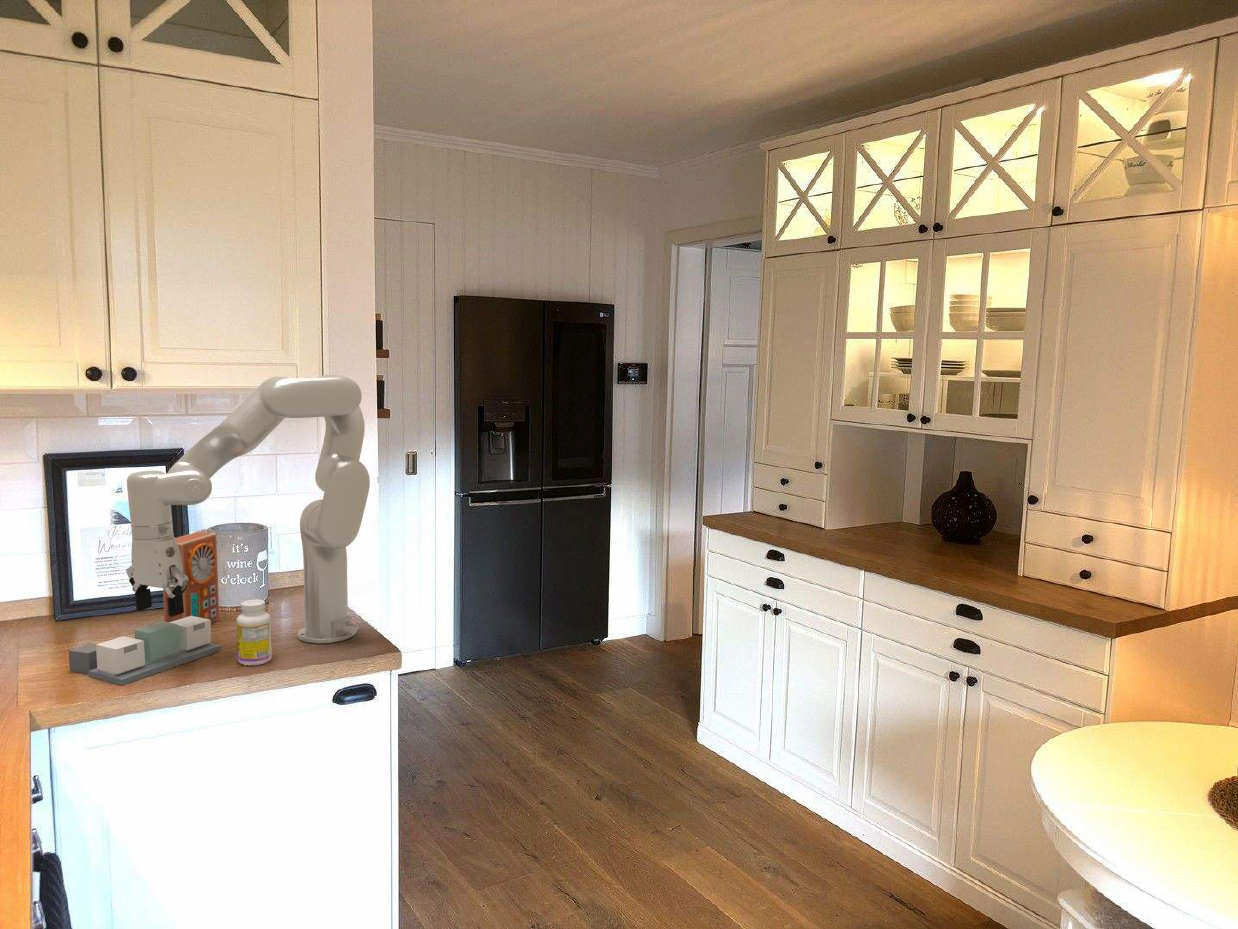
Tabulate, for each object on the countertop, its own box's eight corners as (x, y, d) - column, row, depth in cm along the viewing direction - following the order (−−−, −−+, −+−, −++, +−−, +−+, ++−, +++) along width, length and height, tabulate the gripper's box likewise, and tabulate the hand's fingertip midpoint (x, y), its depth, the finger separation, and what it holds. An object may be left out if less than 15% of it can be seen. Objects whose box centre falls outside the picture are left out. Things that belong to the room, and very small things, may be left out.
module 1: (110, 666, 184) (108, 645, 184) (89, 674, 179) (88, 653, 179) (90, 663, 185) (89, 642, 185) (69, 672, 181) (68, 650, 180)
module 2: (178, 651, 188) (177, 624, 187) (150, 661, 182) (149, 632, 181) (163, 648, 190) (162, 621, 189) (135, 657, 184) (134, 629, 183)
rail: (208, 644, 195) (208, 641, 195) (114, 676, 175) (114, 673, 175) (194, 641, 197) (194, 638, 197) (100, 672, 177) (99, 669, 177)
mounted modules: (211, 642, 195) (210, 619, 194) (117, 674, 175) (116, 649, 174) (191, 637, 197) (190, 615, 197) (97, 668, 177) (95, 644, 177)
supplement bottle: (244, 655, 192) (242, 597, 190) (276, 655, 192) (274, 597, 191) (233, 666, 185) (231, 606, 184) (265, 666, 186) (264, 606, 184)
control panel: (225, 618, 217) (184, 637, 203) (200, 616, 219) (157, 634, 204) (222, 532, 215) (180, 545, 200) (196, 530, 216) (153, 543, 201)
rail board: (220, 650, 194) (219, 645, 194) (122, 685, 174) (122, 679, 174) (187, 643, 199) (187, 638, 198) (88, 676, 178) (88, 670, 178)
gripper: (197, 531, 182) (204, 611, 185) (140, 524, 190) (148, 601, 192) (165, 539, 176) (173, 622, 178) (107, 531, 183) (115, 612, 186)
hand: (160, 611), depth 185 cm, fingers open, 9 cm apart
